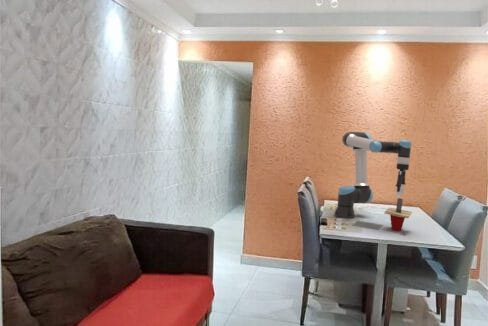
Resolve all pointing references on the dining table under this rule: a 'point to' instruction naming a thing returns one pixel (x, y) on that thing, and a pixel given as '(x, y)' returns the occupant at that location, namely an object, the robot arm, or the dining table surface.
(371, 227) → the mat
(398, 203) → the lid
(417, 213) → the dining table surface
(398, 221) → the plastic cup
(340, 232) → the dining table surface
